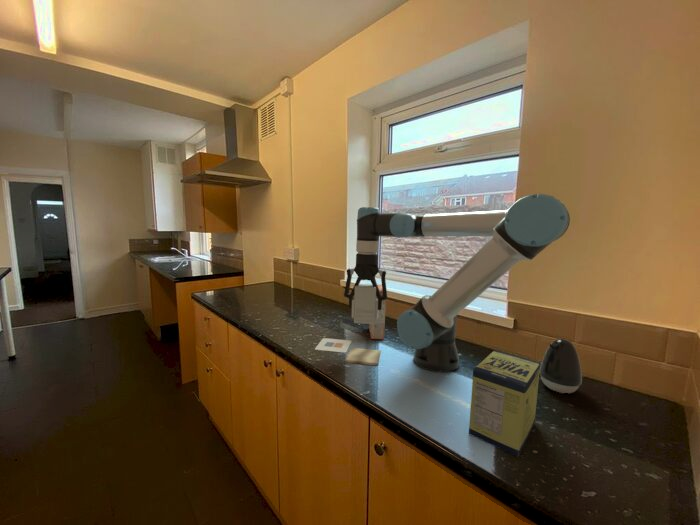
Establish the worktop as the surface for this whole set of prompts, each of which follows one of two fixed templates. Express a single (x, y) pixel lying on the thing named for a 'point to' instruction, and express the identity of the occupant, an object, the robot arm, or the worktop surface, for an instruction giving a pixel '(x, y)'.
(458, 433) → the worktop surface
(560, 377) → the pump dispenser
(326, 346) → the tile
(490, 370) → the protein box
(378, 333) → the cracker box
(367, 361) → the oak coaster
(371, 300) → the supplement box
